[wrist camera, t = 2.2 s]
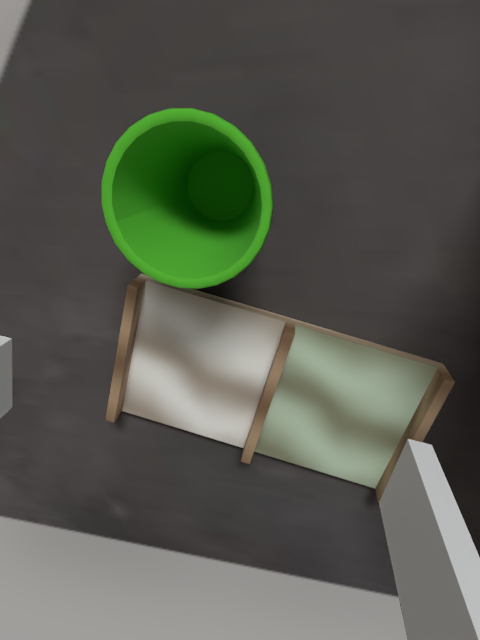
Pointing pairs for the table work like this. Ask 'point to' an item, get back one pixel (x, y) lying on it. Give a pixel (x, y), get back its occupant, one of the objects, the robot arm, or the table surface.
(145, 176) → the cup
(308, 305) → the table surface
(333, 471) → the wooden divided tray
